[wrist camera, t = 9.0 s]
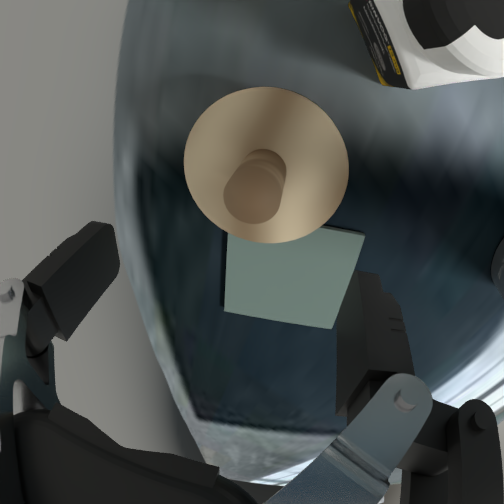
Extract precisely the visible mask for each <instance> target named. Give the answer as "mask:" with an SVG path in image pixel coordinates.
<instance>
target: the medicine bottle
mask: <svg viewBox="0 0 504 504" xmlns="http://www.w3.org/2000/svg"><path fill="white" fill-rule="evenodd" d="M348 6H349V8H350V10H351V12H352V15H353V17H354V19H355V21H356V23H357V25H358V27H359V30H360V32H361V34H362V37H363V39H364V41H365V44H366V46H367V48H368V51H369V53H370V56H371V58H372V61H373V64H374V66H375V69H376V72H377V74H378V77H379V80H380V83H381V84H382V85H384V86H391V87H399V88H406V89H412V90H416V89H421V88H427V87H433V86H438V85H445V84H451V83H458V82H465V81H473V80H482V79H493V78H500V77H504V0H350V2H349V4H348Z"/></svg>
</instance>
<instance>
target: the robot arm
mask: <svg viewBox="0 0 504 504" xmlns="http://www.w3.org/2000/svg"><path fill="white" fill-rule="evenodd" d="M119 267H120V260H119V255H118V249H117V244H116V238H115V232H114V228H113V226H112V225H111V224H107V223H101V222H96V221H91V222H90V223H88V224H87V225H86V226H85V227H83V228H82V229H81V230H80V231H79V232H78V233H76V234H75V235H73V236H71V237H69V238H67V239H66V240H65V241H63V242H62V243H61V244H60V245H59V246H58V247H57V249H55V250H54V251H52V252H51V253H50V256H47V257H46V258H45V259H44V260H43V261H42V262H41V263H39V265H37V266H36V267H35V268H34V269H33V270H32V271H31V272H30V273H29V274H28V275H27V276H26V277H25V278H24V279H23V280H22V281H21V280H20V279H17V278H10V279H7V280H4V281H2V282H1V283H0V504H258V503H257V501H256V500H255V499H254V498H253V497H252V496H251V495H249V493H247V492H246V491H245V490H244V489H242V488H241V487H240V486H238V485H237V484H235V483H234V482H232V481H230V480H229V479H227V478H225V477H223V476H221V475H220V472H219V467H217V466H213V465H209V464H205V463H202V462H198V461H194V460H191V459H187V458H184V457H181V456H177V455H174V454H170V453H160V452H151V451H143V450H136V449H129V448H125V447H122V446H120V445H119V444H118V443H116V442H115V441H114V440H112V439H111V438H110V437H109V436H107V435H106V434H105V433H104V432H102V431H101V430H100V429H99V428H98V427H96V426H95V425H94V424H93V423H92V422H91V421H90V420H88V419H87V418H85V417H82V416H81V415H79V414H77V413H75V412H73V411H71V410H70V409H67V408H66V407H64V406H62V405H61V404H60V402H59V399H58V397H57V394H56V387H55V370H54V346H53V343H52V341H51V340H52V339H53V337H54V336H56V337H58V338H60V339H62V340H64V341H68V339H69V338H70V336H71V335H72V334H73V332H74V331H75V329H76V328H77V327H78V325H79V324H80V322H81V321H82V320H83V319H84V317H85V316H86V315H87V313H88V312H89V311H90V310H91V308H92V307H93V306H94V304H95V303H96V302H97V301H98V299H99V298H100V296H101V295H102V294H103V293H104V292H105V290H106V289H107V288H108V287H109V285H110V284H111V283H112V282H113V280H114V279H115V278H116V276H117V274H118V272H119ZM491 277H492V280H493V282H494V284H495V286H496V287H497V289H498V291H499V292H500V294H501V296H502V298H503V299H504V238H503V240H502V241H501V243H500V244H499V246H498V248H497V250H496V252H495V255H494V257H493V261H492V265H491ZM405 332H406V329H405V324H404V322H403V316H402V312H401V308H400V305H399V304H398V303H397V301H396V300H395V298H394V297H393V296H392V294H391V293H385V292H383V289H382V285H381V281H380V277H379V275H378V274H373V273H368V272H362V271H357V270H355V271H354V272H353V274H352V276H351V279H350V282H349V285H348V287H347V290H346V293H345V295H344V298H343V301H342V303H341V306H340V309H339V312H338V317H337V383H336V413H335V416H346V417H347V427H346V428H345V429H344V430H343V432H342V433H341V434H340V435H339V436H338V437H337V438H336V439H335V440H334V441H333V442H332V443H331V444H330V445H329V446H328V447H327V448H326V449H325V450H324V451H323V452H322V453H321V454H320V455H319V456H318V457H317V458H316V459H315V460H314V461H313V462H312V463H310V464H309V465H308V466H307V467H306V468H305V469H304V470H303V471H302V472H301V473H299V474H298V475H297V476H296V477H295V478H294V479H293V480H291V481H290V482H289V483H288V484H287V485H286V486H284V487H283V488H282V489H281V490H280V491H278V492H277V493H276V494H275V495H273V496H272V497H271V498H269V499H268V500H267V501H266V502H264V503H263V504H378V503H379V501H380V500H381V499H382V498H383V496H384V495H385V493H386V492H387V490H388V488H389V485H390V483H389V482H388V479H389V477H390V475H391V473H392V472H393V471H394V469H395V468H400V469H402V483H401V498H400V504H504V493H503V492H504V490H503V470H502V458H501V449H500V441H499V434H498V427H497V421H496V417H495V415H494V413H493V411H492V409H491V408H490V407H489V406H488V405H487V404H486V403H485V402H483V401H481V400H477V399H472V400H469V401H467V402H465V403H464V404H463V405H462V406H461V407H460V408H459V409H458V408H455V407H452V406H450V405H447V404H444V403H441V402H438V401H436V400H434V399H432V395H431V392H430V390H429V388H428V387H427V385H426V384H425V383H424V382H423V381H422V380H420V379H419V378H417V377H415V373H414V367H413V362H412V357H411V352H410V347H409V342H408V338H407V333H405Z"/></svg>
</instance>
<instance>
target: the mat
mask: <svg viewBox="0 0 504 504" xmlns="http://www.w3.org/2000/svg"><path fill="white" fill-rule="evenodd" d="M364 238H365V234H364V233H361V232H355V231H350V230H345V229H339V228H334V227H329V226H323V225H322V226H321V227H319V228H318V229H316V230H315V231H313V232H312V233H310V234H308V235H306V236H304V237H301V238H298V239H296V240H292V241H288V242H282V243H259V242H253V241H248V240H245V239H242V238H239V237H236V236H234V235H232V234H230V233H228V243H227V262H226V284H225V308H224V311H227V312H232V313H237V314H243V315H248V316H253V317H259V318H265V319H270V320H276V321H282V322H288V323H294V324H300V325H307V326H313V327H320V328H327V329H332V327H333V324H334V322H335V319H336V317H337V314H338V311H339V309H340V306H341V303H342V301H343V298H344V295H345V293H346V290H347V287H348V285H349V282H350V279H351V276H352V274H353V271H354V268H355V265H356V262H357V259H358V256H359V253H360V250H361V247H362V244H363V241H364Z"/></svg>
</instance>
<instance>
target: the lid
mask: <svg viewBox="0 0 504 504" xmlns="http://www.w3.org/2000/svg"><path fill="white" fill-rule="evenodd" d="M184 172H185V177H186V182H187V185H188V188H189V190H190V193H191V195H192V197H193V199H194V200H195V202H196V204H197V205H198V207H199V208H200V209H201V211H202V212H203V213H204V214H205V215H206V216H207V217H208V218H209V219H210V220H211V221H212V222H213V223H214V224H216V225H217V226H218V227H220V228H221V229H223V230H224V231H226V232H228V233H230V234H232V235H234V236H236V237H239V238H242V239H245V240H248V241H253V242H259V243H282V242H288V241H292V240H296V239H298V238H301V237H304V236H306V235H308V234H310V233H312V232H313V231H315V230H316V229H318V228H319V227H321V226H322V225H323V224H324V223H325V222H326V221H327V220H328V219H329V218H330V217H331V216H332V215H333V214H334V212H335V211H336V209H337V208H338V206H339V205H340V203H341V201H342V198H343V196H344V194H345V190H346V187H347V182H348V176H349V163H348V155H347V151H346V147H345V144H344V141H343V139H342V137H341V134H340V132H339V131H338V129H337V128H336V126H335V124H334V123H333V121H332V120H331V119H330V117H329V116H328V115H327V114H326V113H325V112H324V111H323V110H322V109H321V108H320V107H319V106H318V105H317V104H315V103H314V102H312V101H311V100H309V99H308V98H306V97H304V96H302V95H300V94H298V93H296V92H293V91H290V90H286V89H282V88H276V87H255V88H248V89H244V90H240V91H236V92H234V93H231V94H229V95H226V96H225V97H223V98H221V99H219V100H217V101H216V102H215V103H213V104H212V105H211V106H210V107H208V108H207V109H206V110H205V111H204V112H203V113H202V115H201V116H200V117H199V118H198V120H197V121H196V123H195V124H194V126H193V128H192V130H191V132H190V134H189V137H188V140H187V143H186V147H185V152H184Z"/></svg>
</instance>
